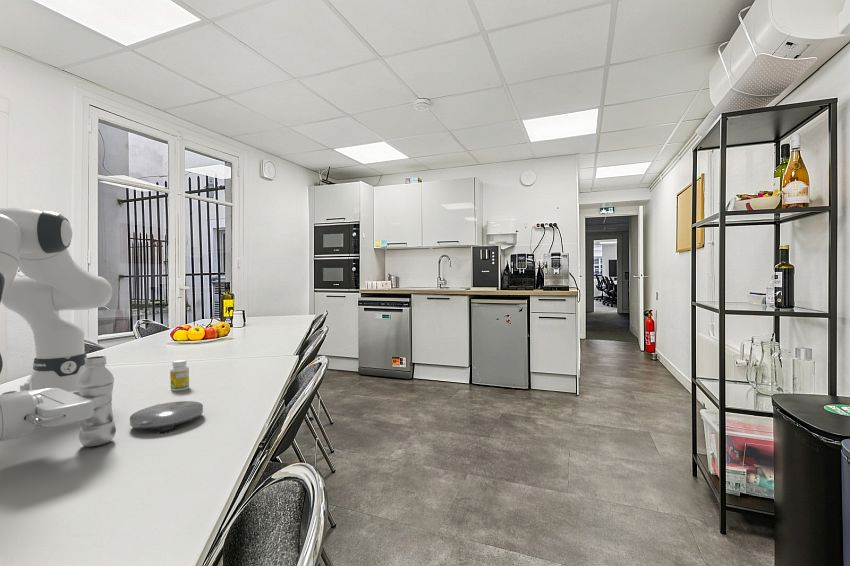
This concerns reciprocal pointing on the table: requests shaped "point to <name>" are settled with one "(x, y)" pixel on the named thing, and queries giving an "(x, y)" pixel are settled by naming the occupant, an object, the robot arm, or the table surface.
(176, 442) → the table surface
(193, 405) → the base
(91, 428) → the plastic bottle
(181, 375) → the supplement bottle
